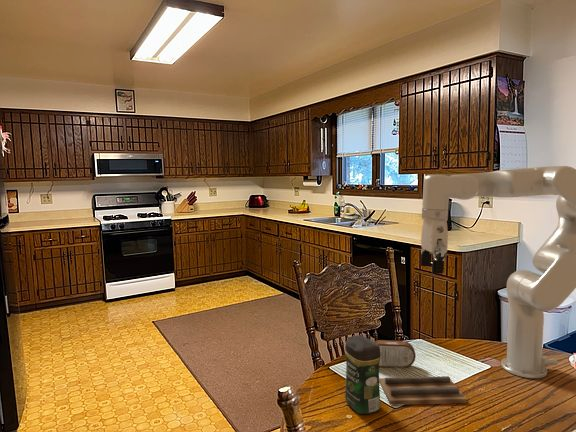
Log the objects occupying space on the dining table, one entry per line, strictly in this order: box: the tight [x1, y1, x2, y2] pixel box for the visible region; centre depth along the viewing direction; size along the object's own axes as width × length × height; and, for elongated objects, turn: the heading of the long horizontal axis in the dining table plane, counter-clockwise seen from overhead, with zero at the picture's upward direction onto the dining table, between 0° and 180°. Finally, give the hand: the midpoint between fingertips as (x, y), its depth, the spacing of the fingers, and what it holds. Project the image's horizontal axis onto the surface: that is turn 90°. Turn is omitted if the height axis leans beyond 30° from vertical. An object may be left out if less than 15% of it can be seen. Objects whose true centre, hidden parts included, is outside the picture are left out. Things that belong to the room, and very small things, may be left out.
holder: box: [379, 375, 468, 406], centre depth 114 cm, size 21×12×3 cm, turn 91°
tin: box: [373, 339, 416, 369], centre depth 130 cm, size 15×3×8 cm, turn 84°
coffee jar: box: [344, 334, 381, 415], centre depth 107 cm, size 10×8×19 cm
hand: (431, 269), depth 124 cm, fingers open, 9 cm apart
